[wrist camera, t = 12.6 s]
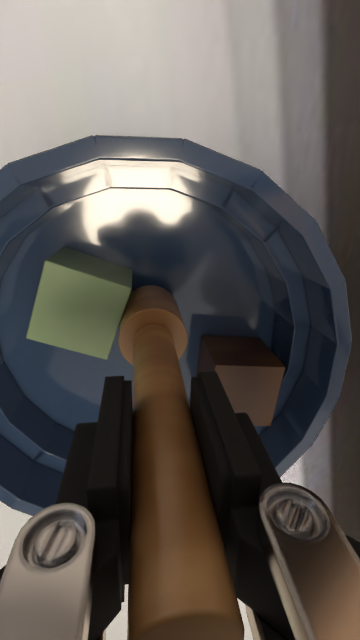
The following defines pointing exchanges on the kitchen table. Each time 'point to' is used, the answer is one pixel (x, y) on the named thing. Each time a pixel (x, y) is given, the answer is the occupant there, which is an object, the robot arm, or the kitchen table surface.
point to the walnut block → (244, 373)
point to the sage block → (80, 303)
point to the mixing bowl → (169, 273)
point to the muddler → (170, 491)
